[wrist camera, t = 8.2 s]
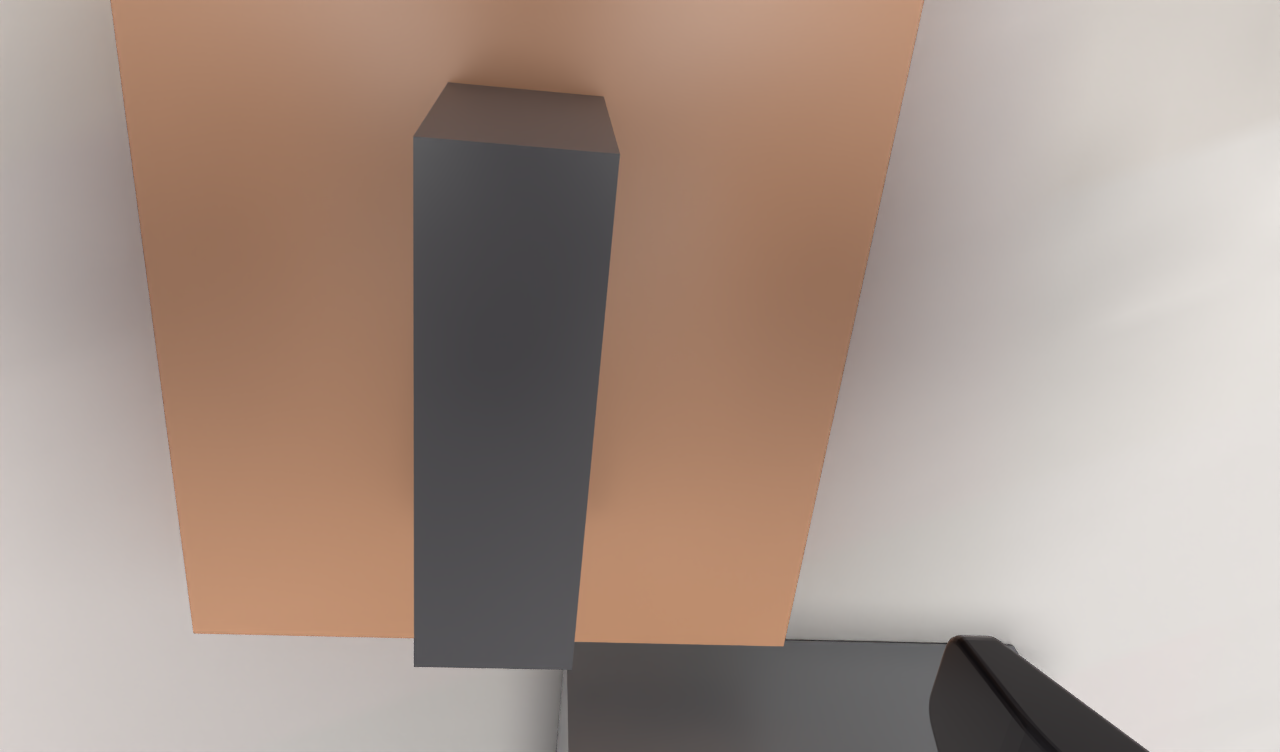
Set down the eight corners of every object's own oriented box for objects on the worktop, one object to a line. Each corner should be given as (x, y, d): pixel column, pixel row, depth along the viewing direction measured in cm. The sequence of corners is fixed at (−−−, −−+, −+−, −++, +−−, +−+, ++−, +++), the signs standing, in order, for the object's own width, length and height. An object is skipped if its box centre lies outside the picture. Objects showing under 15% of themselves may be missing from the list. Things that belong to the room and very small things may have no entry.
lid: (762, 580, 22) (833, 805, 16) (228, 564, 20) (106, 804, 15) (893, -80, 16) (1076, -81, 10) (150, -170, 14) (-100, -224, 9)
